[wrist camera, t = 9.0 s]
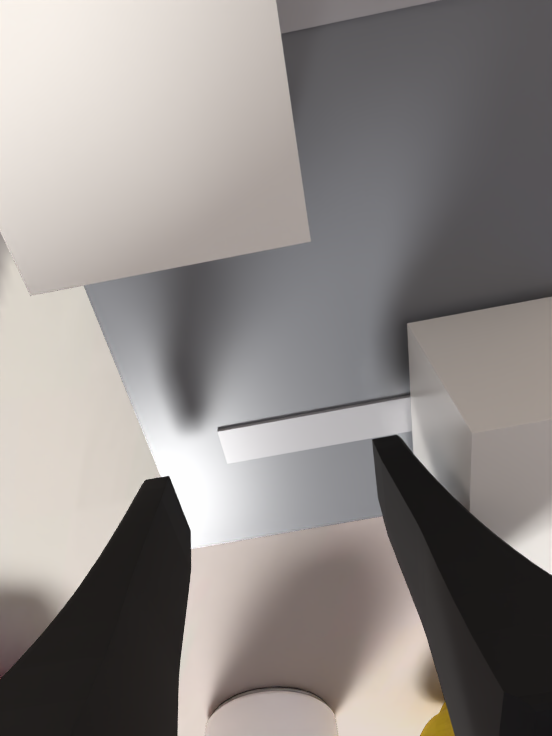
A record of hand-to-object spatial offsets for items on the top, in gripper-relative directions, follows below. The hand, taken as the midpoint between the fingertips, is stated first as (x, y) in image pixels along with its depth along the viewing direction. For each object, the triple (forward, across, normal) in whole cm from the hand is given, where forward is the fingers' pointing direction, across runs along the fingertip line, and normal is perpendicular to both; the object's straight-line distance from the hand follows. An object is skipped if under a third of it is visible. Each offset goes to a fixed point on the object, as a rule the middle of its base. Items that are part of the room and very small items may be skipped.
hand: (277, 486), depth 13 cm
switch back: (+2, -6, 0) cm, 6 cm away
